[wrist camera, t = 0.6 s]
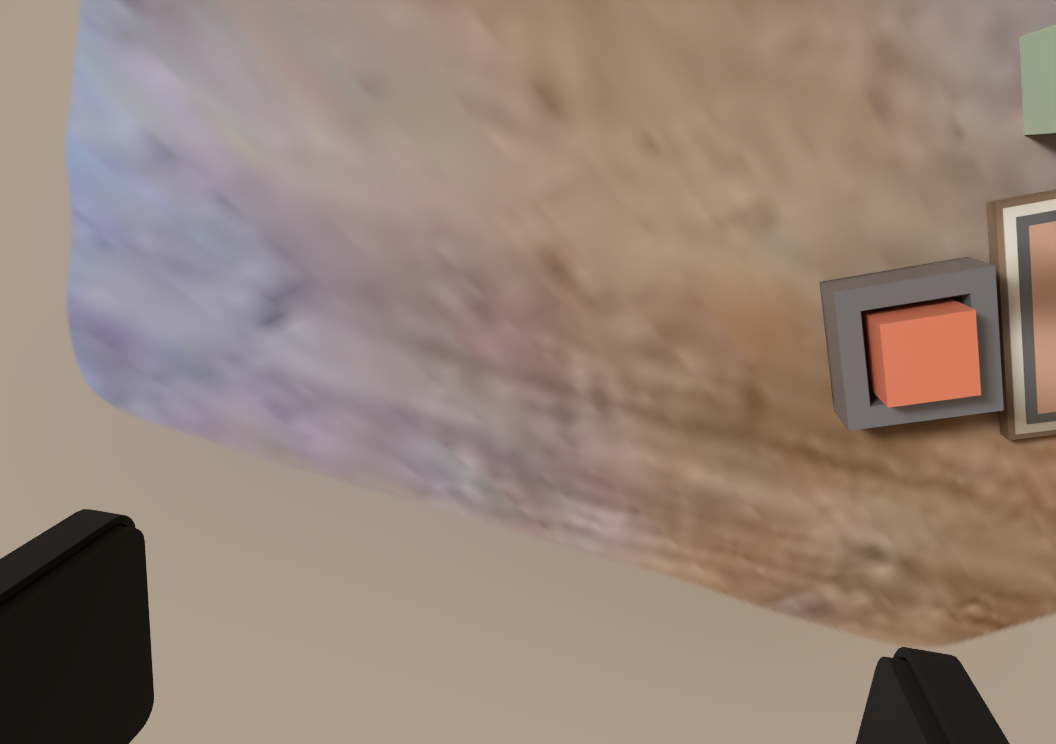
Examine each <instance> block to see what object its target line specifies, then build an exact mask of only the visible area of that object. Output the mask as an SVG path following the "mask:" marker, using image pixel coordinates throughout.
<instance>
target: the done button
mask: <svg viewBox="0 0 1056 744" xmlns="http://www.w3.org/2000/svg"><path fill="white" fill-rule="evenodd" d="M862 321H863V331H864V341H865V351H866V360H867V370H868V380H869V388H870V389H871V391H872V392H873V393H874V394H875V395H876V396H877V397H878V398H879V399H880V400H881V401H882V402H883V403H884V404H885V405H886V406H887V407H888V408H890V407H897V406H905V405H912V404H919V403H927V402H934V401H941V400H949V399H956V398H964V397H971V396H978V395H981V384H980V368H979V353H978V338H977V322H976V310H975V309H973V308H971V307H969V306H966V305H964V304H962V303H960V302H958V301H956V300H954V299H951V298H949V297H948V298H942V299H936V300H930V301H924V302H917V303H911V304H905V305H899V306H892V307H886V308H880V309H874V310H867V311H862Z"/></svg>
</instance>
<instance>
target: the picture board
mask: <svg viewBox="0 0 1056 744" xmlns="http://www.w3.org/2000/svg"><path fill="white" fill-rule="evenodd" d="M987 218H988V235H989V251H990V264H992V265H995V270H996V287H997V304H998V321H999V339H1000V356H1001V373H1002V390H1003V407H1004V410H1003V411H999V419H1000V434H1001V435H1003V436H1004V437H1005V438H1007V439H1008V440H1016V439H1024V438H1032V437H1040V436H1048V435H1056V190H1051V191H1046V192H1040V193H1035V194H1029V195H1024V196H1018V197H1013V198H1007V199H1002V200H996V201H991V202H987Z"/></svg>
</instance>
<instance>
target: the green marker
mask: <svg viewBox="0 0 1056 744" xmlns="http://www.w3.org/2000/svg"><path fill="white" fill-rule="evenodd" d="M1019 38H1020V59H1021V80H1022V101H1023V122H1024V135H1032V134H1047V133H1056V24H1055V25H1053V26H1050V27H1047V28H1044V29H1041V30H1038V31H1035V32H1032V33H1029V34H1026V35H1023V36H1020V37H1019Z"/></svg>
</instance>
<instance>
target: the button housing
mask: <svg viewBox="0 0 1056 744" xmlns="http://www.w3.org/2000/svg"><path fill="white" fill-rule="evenodd" d="M820 289H821V298H822V307H823V316H824V325H825V334H826V342H827V351H828V360H829V369H830V378H831V387H832V396H833V404H834V411H835V412H836V414H837V415H838V416H839V418H840V419H841V421H842V422H843V423H844V425H845V426H846V427H847V429H848V430H849V431H850V430H858V429H866V428H873V427H881V426H889V425H896V424H904V423H912V422H919V421H927V420H934V419H942V418H950V417H957V416H965V415H973V414H980V413H988V412H995V411H1003V410H1004V407H1003V390H1002V373H1001V356H1000V339H999V321H998V304H997V287H996V270H995V265H992V264H989V263H985V262H982V261H979V260H976V259H972V258H969V257H965V258H959V259H953V260H947V261H941V262H935V263H930V264H924V265H918V266H912V267H906V268H900V269H894V270H888V271H882V272H877V273H871V274H865V275H859V276H853V277H847V278H841V279H835V280H829V281H823V282H820ZM948 297H949V298H951V299H954V300H956V301H958V302H960V303H962V304H964V305H966V306H969V307H971V308H973V309H975V310H976V322H977V338H978V353H979V368H980V384H981V395H978V396H971V397H964V398H956V399H949V400H941V401H934V402H927V403H919V404H912V405H905V406H897V407H890V408H888V407H887V406H886V405H885V404H884V403H883V402H882V401H881V400H880V399H879V398H878V397H877V396H876V395H875V394H874V393H873V392H872V391H871V389H870V388H869V380H868V370H867V360H866V351H865V341H864V331H863V321H862V311H867V310H874V309H880V308H886V307H892V306H899V305H905V304H911V303H917V302H924V301H930V300H936V299H942V298H948Z"/></svg>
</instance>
